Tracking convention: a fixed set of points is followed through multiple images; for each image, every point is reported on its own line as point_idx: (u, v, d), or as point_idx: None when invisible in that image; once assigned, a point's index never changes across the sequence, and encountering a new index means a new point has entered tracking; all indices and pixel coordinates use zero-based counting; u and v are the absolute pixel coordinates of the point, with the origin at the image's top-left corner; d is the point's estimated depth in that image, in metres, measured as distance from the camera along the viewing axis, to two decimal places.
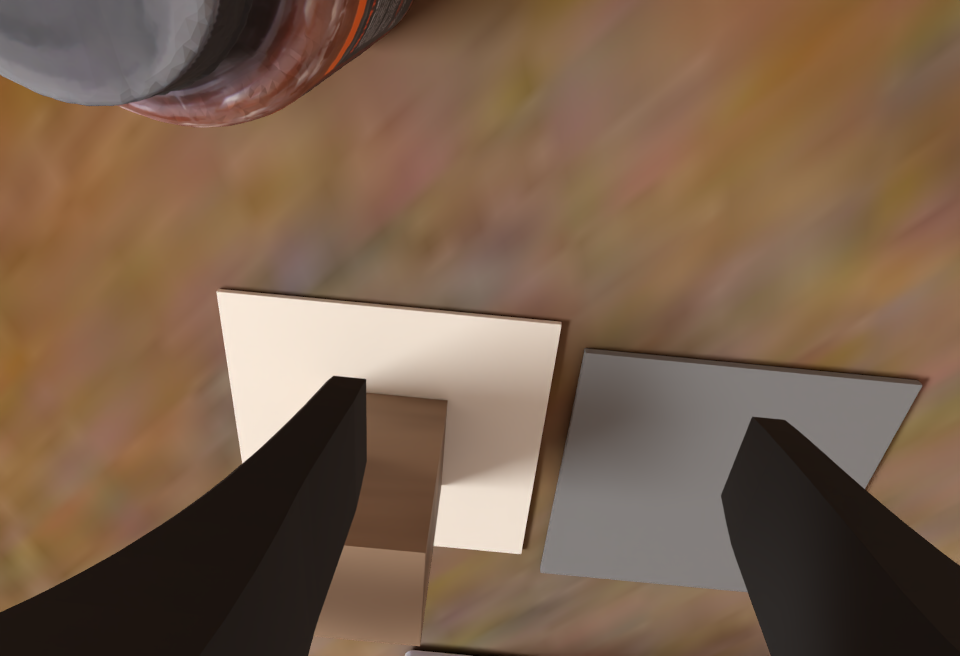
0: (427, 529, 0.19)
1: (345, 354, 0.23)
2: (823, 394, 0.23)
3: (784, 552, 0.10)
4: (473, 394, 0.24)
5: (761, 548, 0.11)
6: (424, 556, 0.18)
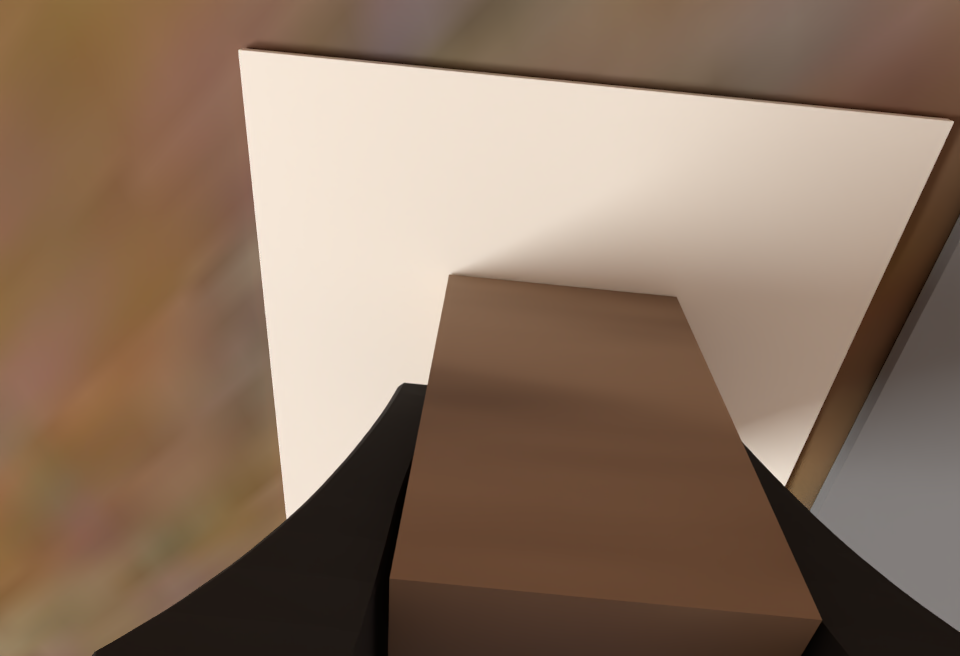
0: (789, 552, 0.07)
1: (491, 198, 0.12)
2: None
3: None
4: (729, 284, 0.12)
5: None
6: (812, 627, 0.07)
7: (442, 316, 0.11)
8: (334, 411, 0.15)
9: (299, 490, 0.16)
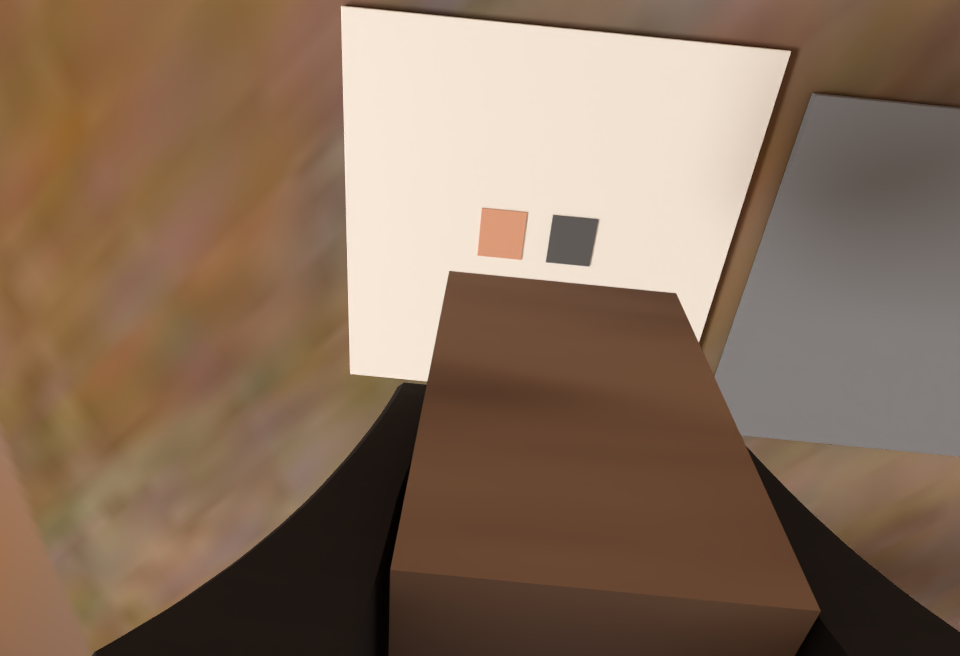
0: (787, 545, 0.07)
1: (499, 105, 0.18)
2: None
3: None
4: (656, 165, 0.19)
5: None
6: (811, 619, 0.07)
7: (442, 312, 0.11)
8: (388, 267, 0.21)
9: (360, 331, 0.22)
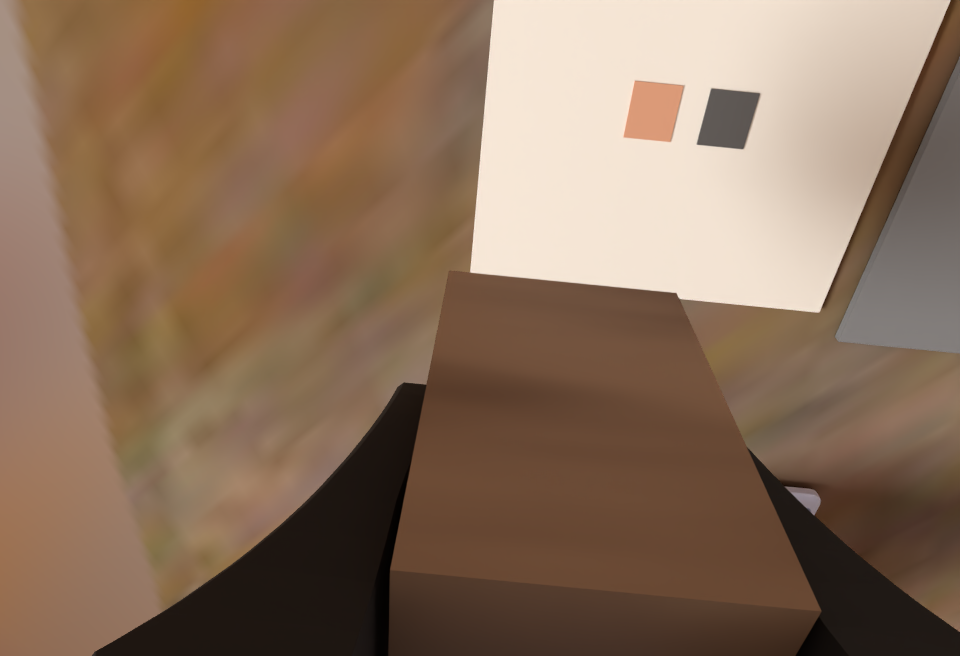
0: (788, 545, 0.07)
1: None
2: None
3: None
4: (831, 28, 0.17)
5: None
6: (811, 619, 0.07)
7: (442, 311, 0.11)
8: (525, 152, 0.20)
9: (486, 228, 0.21)
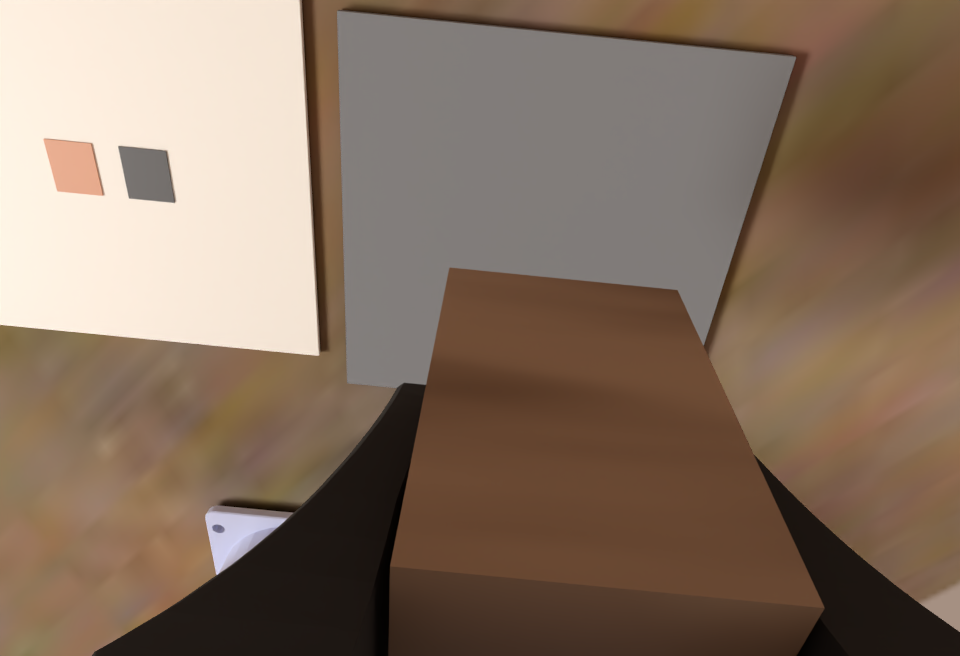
0: (791, 541, 0.07)
1: (21, 25, 0.17)
2: (665, 76, 0.17)
3: None
4: (205, 91, 0.18)
5: None
6: (815, 616, 0.07)
7: (443, 308, 0.11)
8: None
9: None
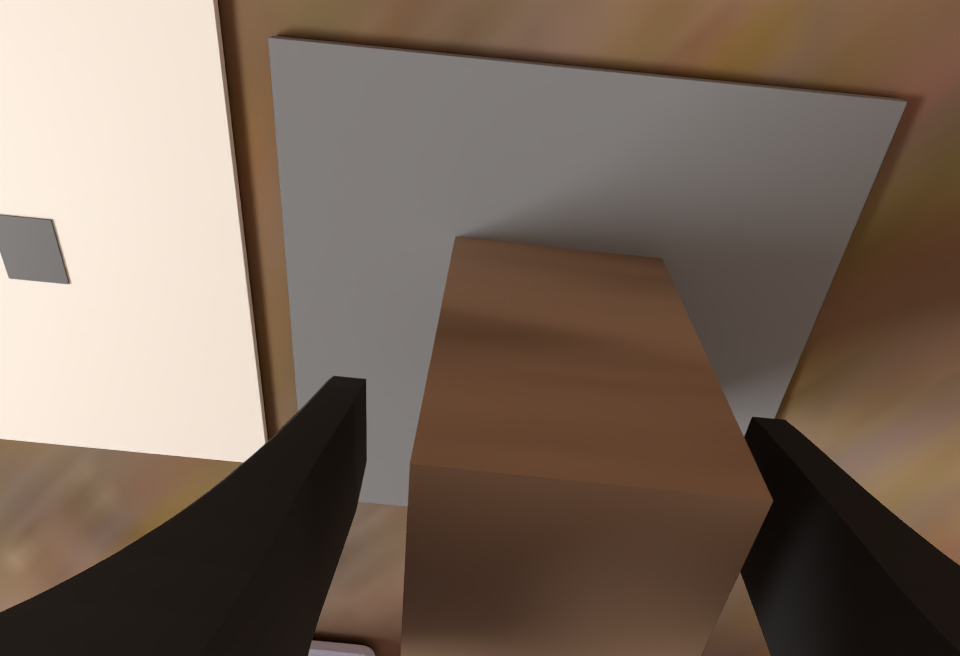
0: (749, 453, 0.09)
1: None
2: (723, 127, 0.12)
3: (784, 552, 0.10)
4: (96, 143, 0.13)
5: (761, 548, 0.11)
6: (765, 509, 0.08)
7: (450, 270, 0.12)
8: None
9: None
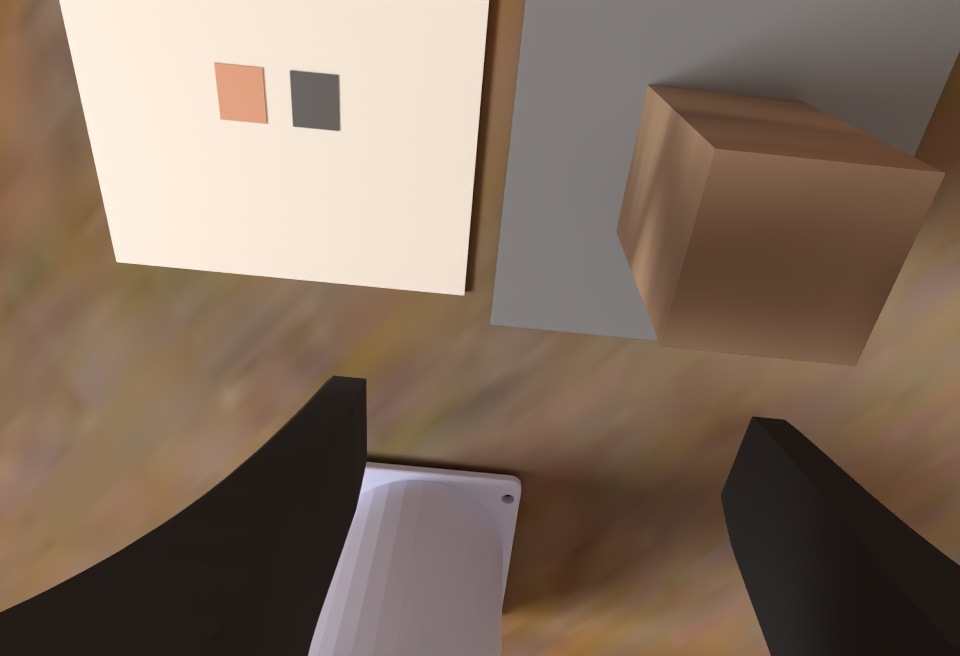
0: (920, 160, 0.13)
1: None
2: None
3: (784, 552, 0.10)
4: (386, 10, 0.18)
5: (761, 548, 0.11)
6: (939, 181, 0.12)
7: (660, 95, 0.17)
8: (131, 134, 0.20)
9: (118, 212, 0.21)
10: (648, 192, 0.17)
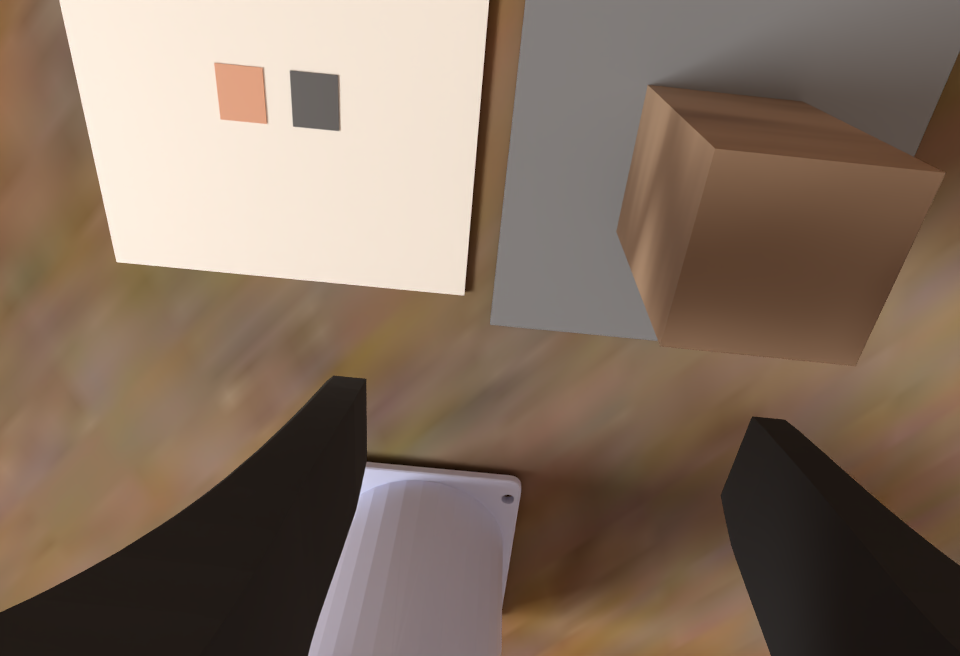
0: (920, 160, 0.13)
1: None
2: None
3: (784, 552, 0.10)
4: (386, 10, 0.18)
5: (761, 548, 0.11)
6: (939, 181, 0.12)
7: (660, 95, 0.17)
8: (131, 134, 0.20)
9: (118, 212, 0.21)
10: (648, 192, 0.17)
